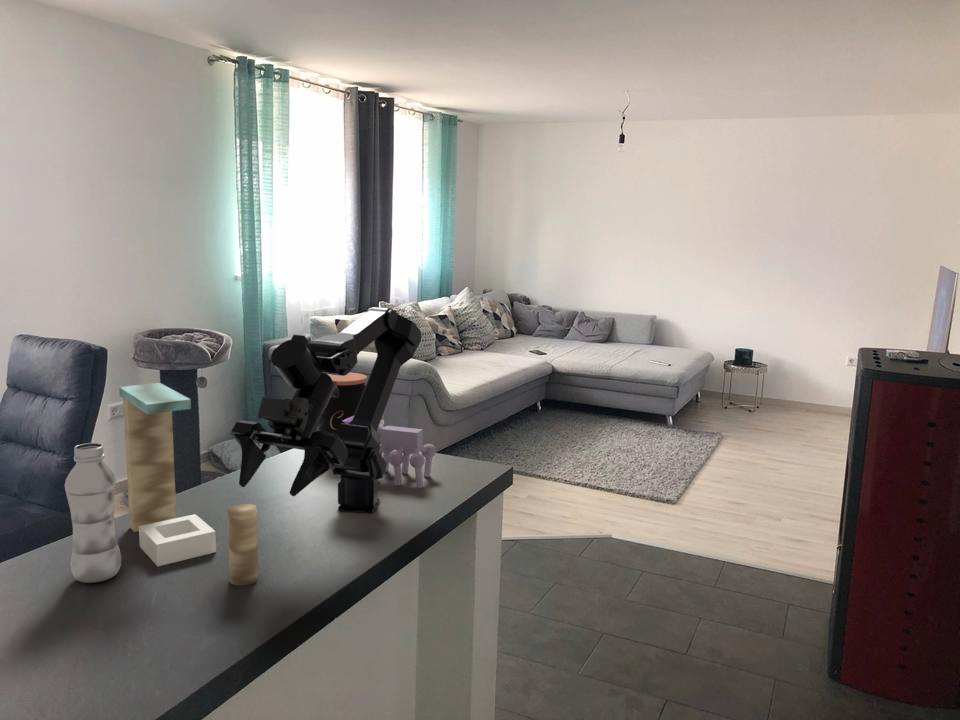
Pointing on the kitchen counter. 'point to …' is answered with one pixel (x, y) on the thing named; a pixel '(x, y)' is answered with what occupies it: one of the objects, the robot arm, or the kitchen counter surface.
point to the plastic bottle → (92, 516)
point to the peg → (243, 544)
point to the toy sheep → (404, 450)
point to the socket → (177, 539)
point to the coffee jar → (343, 400)
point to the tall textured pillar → (150, 451)
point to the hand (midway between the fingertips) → (266, 490)
